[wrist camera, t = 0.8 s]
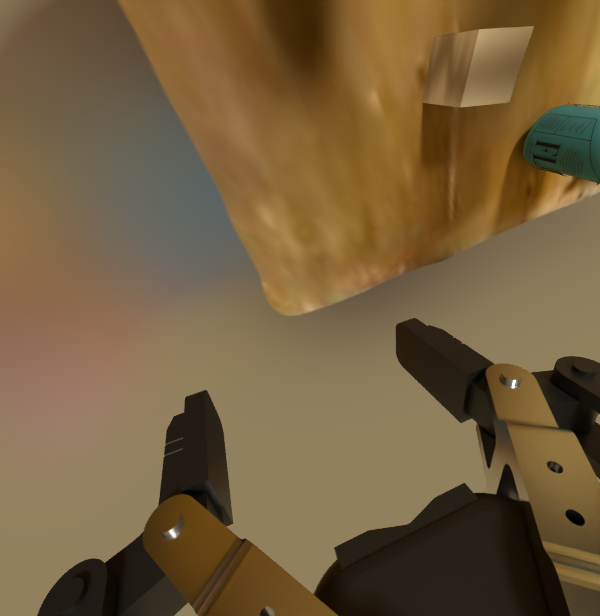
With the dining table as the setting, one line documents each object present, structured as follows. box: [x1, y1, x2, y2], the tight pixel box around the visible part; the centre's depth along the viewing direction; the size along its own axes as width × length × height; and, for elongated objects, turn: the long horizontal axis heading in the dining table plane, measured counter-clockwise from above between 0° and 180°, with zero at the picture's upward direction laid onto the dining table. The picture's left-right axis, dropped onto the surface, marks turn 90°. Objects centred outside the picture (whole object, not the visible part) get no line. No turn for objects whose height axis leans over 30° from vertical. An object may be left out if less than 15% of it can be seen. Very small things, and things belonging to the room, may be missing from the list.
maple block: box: [423, 26, 534, 108], centre depth 27 cm, size 5×5×6 cm
